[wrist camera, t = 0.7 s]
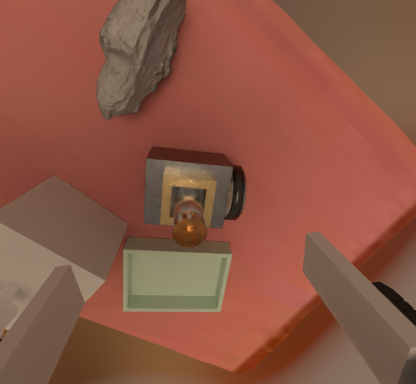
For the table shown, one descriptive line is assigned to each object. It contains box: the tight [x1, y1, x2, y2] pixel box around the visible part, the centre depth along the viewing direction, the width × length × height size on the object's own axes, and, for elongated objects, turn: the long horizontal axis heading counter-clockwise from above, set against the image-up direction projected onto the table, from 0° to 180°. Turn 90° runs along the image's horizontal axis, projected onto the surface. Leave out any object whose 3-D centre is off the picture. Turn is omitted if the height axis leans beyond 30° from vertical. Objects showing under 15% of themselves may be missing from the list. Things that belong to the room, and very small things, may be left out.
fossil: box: [96, 0, 186, 120], centre depth 27 cm, size 17×7×15 cm, turn 146°
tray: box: [123, 237, 232, 312], centre depth 47 cm, size 20×15×4 cm
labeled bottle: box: [173, 187, 207, 248], centre depth 29 cm, size 4×4×10 cm
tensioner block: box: [144, 147, 246, 229], centre depth 37 cm, size 15×10×10 cm, turn 82°
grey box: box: [0, 175, 128, 337], centre depth 32 cm, size 15×18×25 cm
